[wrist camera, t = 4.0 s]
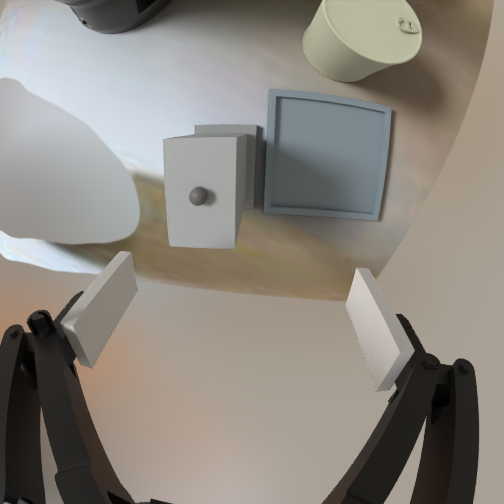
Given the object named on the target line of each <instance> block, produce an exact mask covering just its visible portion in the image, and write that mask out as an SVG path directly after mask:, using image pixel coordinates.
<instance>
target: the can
mask: <svg viewBox="0 0 504 504" xmlns="http://www.w3.org/2000/svg"><path fill="white" fill-rule="evenodd" d="M302 43H303V50H304V53H305V55H306V58H307V59H308V61H309V62H310V64H311V65H312V66H313V67H314V68H315V69H316V70H317V71H318V72H319V73H321V74H322V75H324V76H326V77H328V78H330V79H332V80H336V81H340V82H356V81H359V80H362V79H364V78H365V77H367V76H368V75H370V74H372V73H374V72H377V71H379V70H382V69H385V68H387V67H390V66H393V65H396V64H402V63H405V62H407V61H409V60H411V59H412V58H414V57H415V56H416V54H417V53H418V52H419V50H420V48H421V44H422V29H421V25H420V22H419V20H418V18H417V16H416V14H415V12H414V11H413V9H412V8H411V6H410V5H409V4H408V3H407V2H406V1H405V0H322V2H321V4H320V6H319V8H318V10H317V12H316V14H315V16H314V18H313V20H312V22H311V24H310V25H309V26H308V28H307V29H306V31H305V33H304V36H303V42H302Z"/></svg>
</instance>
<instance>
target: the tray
mask: <svg viewBox="0 0 504 504" xmlns="http://www.w3.org/2000/svg"><path fill="white" fill-rule="evenodd" d="M391 109H392V107H388V106H384V105H380V104H376V103H371V102H366V101H361V100H356V99H351V98H345V97H339V96H333V95H326V94H319V93H311V92H301V91H291V90H277V89H269V94H268V119H267V143H266V166H265V188H264V209H263V213H270V214H289V215H306V216H321V217H335V218H348V219H360V220H371V221H378V217H379V212H380V206H381V200H382V194H383V188H384V181H385V174H386V166H387V157H388V148H389V138H390V125H391Z"/></svg>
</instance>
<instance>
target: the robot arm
mask: <svg viewBox="0 0 504 504" xmlns="http://www.w3.org/2000/svg"><path fill="white" fill-rule="evenodd" d="M56 1H59V2H62V3H64V4H67V5H69V6H70V8H71V9H72V11H73V12H74V13H75V15H76V16H77V17H78V19H79V20H80V22H81V23H82V24H83V25H84V26H86V27H87V28H89V29H91V30H94V31H96V32H99V33H104V34H113V33H119V32H123V31H127V30H130V29H132V28H134V27H137V26H139V25H141V24H143V23H144V22H146V21H148V20H149V19H151V18H152V17H154V16H155V15H156V14H158V13H159V12H160V11H161V10H162V9H163V8H165V7H166V6H167V5H168V4H169V2H170V1H171V0H56ZM137 291H138V289H137V284H136V278H135V273H134V267H133V261H132V255H131V252H124V251H120V252H119V253H118V254H117V255H116V256H115V257H114V258H113V259H112V261H111V262H110V263H109V264H108V265H107V266H106V267H105V268H104V270H103V271H102V272H101V273H100V274H99V275H98V277H97V278H96V279H95V280H94V281H93V282H92V283H91V285H90V286H89V287H88V288H87V289H86V291H85V292H83V291H81V292H80V293H78V294H76V295H75V296H74V297H73V298H72V299H71V300H70V301H69V303H68V304H67V305H66V306H65V308H64V309H63V310H62V311H61V312H60V314H59V315H58V316H57V318H56V319H55V320H54V321H53V320H52V318H51V316H50V313H49V312H48V311H47V310H38V311H36V312H34V313H32V314H31V315H30V316H29V318H28V320H27V324H28V326H29V328H30V330H31V332H32V333H25V331H24V329H23V327H22V326H21V325H17V324H16V325H12V326H11V327H9V328H8V329H7V330H6V331H5V333H4V336H3V339H2V342H1V345H0V504H46V500H45V490H44V483H43V475H42V463H41V448H40V447H41V446H40V412H41V407H42V412H43V417H44V422H45V426H46V430H47V434H48V438H49V442H50V446H51V449H52V452H53V456H54V459H55V462H56V465H57V469H58V473H56V474H55V481H56V485H57V487H58V490H59V493H60V495H61V498H62V500H63V502H64V504H171V503H167V502H163V501H158V500H155V499H151V500H150V502H140V503H135V502H134V500H133V499H132V498H131V496H130V494H129V493H128V492H127V490H126V489H125V488H124V487H123V486H122V484H121V483H120V481H119V479H118V477H117V476H116V474H115V472H114V470H113V468H112V466H111V464H110V462H109V460H108V457H107V455H106V453H105V451H104V448H103V446H102V444H101V442H100V439H99V437H98V434H97V432H96V429H95V427H94V424H93V422H92V419H91V416H90V413H89V410H88V407H87V404H86V401H85V398H84V395H83V392H82V389H81V385H80V381H79V378H78V374H77V370H76V367H75V365H74V363H73V361H74V360H75V358H76V357H77V359H78V361H79V363H80V364H81V365H83V366H86V367H90V368H93V367H94V365H95V363H96V361H97V360H98V358H99V356H100V354H101V352H102V350H103V349H104V347H105V345H106V343H107V341H108V340H109V338H110V336H111V334H112V332H113V331H114V329H115V328H116V326H117V324H118V322H119V321H120V319H121V317H122V316H123V314H124V312H125V311H126V309H127V307H128V306H129V304H130V302H131V301H132V299H133V297H134V296H135V294H136V293H137ZM346 308H347V310H348V313H349V316H350V318H351V321H352V324H353V326H354V329H355V332H356V335H357V338H358V340H359V343H360V346H361V349H362V352H363V355H364V358H365V361H366V364H367V367H368V370H369V373H370V375H371V378H372V382H373V385H374V388H375V391H376V392H378V391H386V390H390V388H391V387H392V385H393V384H394V383H395V384H396V387H397V389H396V391H395V392H394V394H393V395H392V396H391V398H390V399H389V400H388V402H389V404H388V406H387V408H386V410H385V412H384V413H383V415H382V417H381V419H380V421H379V422H378V424H377V426H376V428H375V430H374V431H373V433H372V434H371V436H370V438H369V439H368V441H367V443H366V444H365V446H364V447H363V449H362V450H361V452H360V453H359V455H358V456H357V458H356V459H355V461H354V462H353V464H352V465H351V467H350V468H349V469H348V471H347V472H346V474H345V475H344V476H343V478H342V479H341V480H340V482H339V483H338V484H337V486H336V487H335V488H334V489H333V491H332V492H331V493H330V494H329V495H328V497H327V498H326V499H325V500H324V501H323V503H322V504H384V502H385V500H386V499H387V497H388V495H389V494H390V492H391V490H392V489H393V487H394V485H395V483H396V482H397V480H398V478H399V476H400V474H401V472H402V470H403V468H404V466H405V464H406V462H407V460H408V458H409V456H410V454H411V452H412V450H413V447H414V445H415V443H416V440H417V438H418V436H419V433H420V431H421V429H422V426H423V423H424V421H425V418H426V426H425V434H424V441H423V447H422V453H421V459H420V464H419V469H418V473H417V478H416V482H415V486H414V490H413V494H412V497H411V501H410V504H473V499H474V493H475V486H476V479H477V478H476V477H477V469H478V454H479V411H478V396H477V386H476V377H475V370H474V367H473V366H472V364H471V363H470V362H469V361H467V360H465V359H457V360H456V361H455V362H454V364H453V365H445V364H441V363H440V361H439V360H438V359H437V357H435V356H434V355H432V354H429V353H426V352H425V350H424V348H423V346H422V344H421V342H420V341H419V339H418V337H417V335H416V334H415V331H414V330H413V329H412V326H411V325H410V323H409V321H408V320H407V319H406V318H405V317H404V316H403V315H402V314H395V313H394V311H393V309H392V307H391V305H390V304H389V302H388V300H387V299H386V297H385V295H384V293H383V292H382V290H381V288H380V287H379V285H378V283H377V282H376V280H375V278H374V277H373V275H372V273H371V272H370V270H369V269H368V268H356V272H355V275H354V279H353V283H352V286H351V289H350V293H349V296H348V299H347V303H346ZM426 416H427V417H426Z"/></svg>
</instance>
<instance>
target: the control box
mask: <svg viewBox="0 0 504 504" xmlns="http://www.w3.org/2000/svg"><path fill="white" fill-rule="evenodd" d="M256 130H257V125H195V134H194V135H187V136H180V137H174V138H168V139H163V149H164V178H165V197H166V211H167V224H168V235H169V245H170V246H175V247H198V248H221V249H235V246H236V241H237V237H238V232H239V227H240V223H241V218H242V214H243V209H254V185H255V158H256Z"/></svg>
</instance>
